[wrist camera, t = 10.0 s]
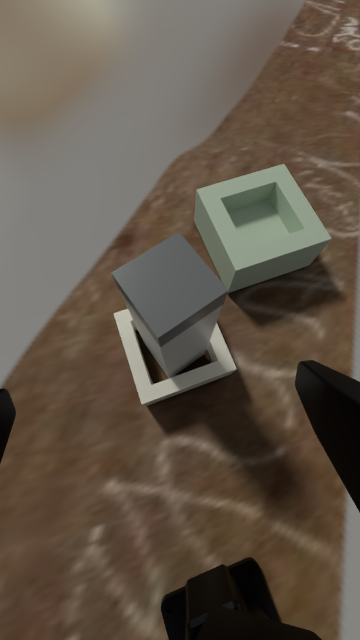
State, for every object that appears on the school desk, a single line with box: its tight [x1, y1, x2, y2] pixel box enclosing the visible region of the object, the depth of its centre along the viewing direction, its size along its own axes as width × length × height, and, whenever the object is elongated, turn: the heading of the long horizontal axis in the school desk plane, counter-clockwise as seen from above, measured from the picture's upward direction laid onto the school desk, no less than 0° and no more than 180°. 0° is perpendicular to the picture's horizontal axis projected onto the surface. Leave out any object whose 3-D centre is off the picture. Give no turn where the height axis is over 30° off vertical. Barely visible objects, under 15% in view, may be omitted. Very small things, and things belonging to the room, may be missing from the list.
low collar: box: [114, 309, 236, 406], centre depth 22 cm, size 7×7×2 cm
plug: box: [111, 232, 228, 378], centre depth 18 cm, size 4×4×12 cm
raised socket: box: [194, 164, 331, 293], centre depth 25 cm, size 8×8×4 cm
